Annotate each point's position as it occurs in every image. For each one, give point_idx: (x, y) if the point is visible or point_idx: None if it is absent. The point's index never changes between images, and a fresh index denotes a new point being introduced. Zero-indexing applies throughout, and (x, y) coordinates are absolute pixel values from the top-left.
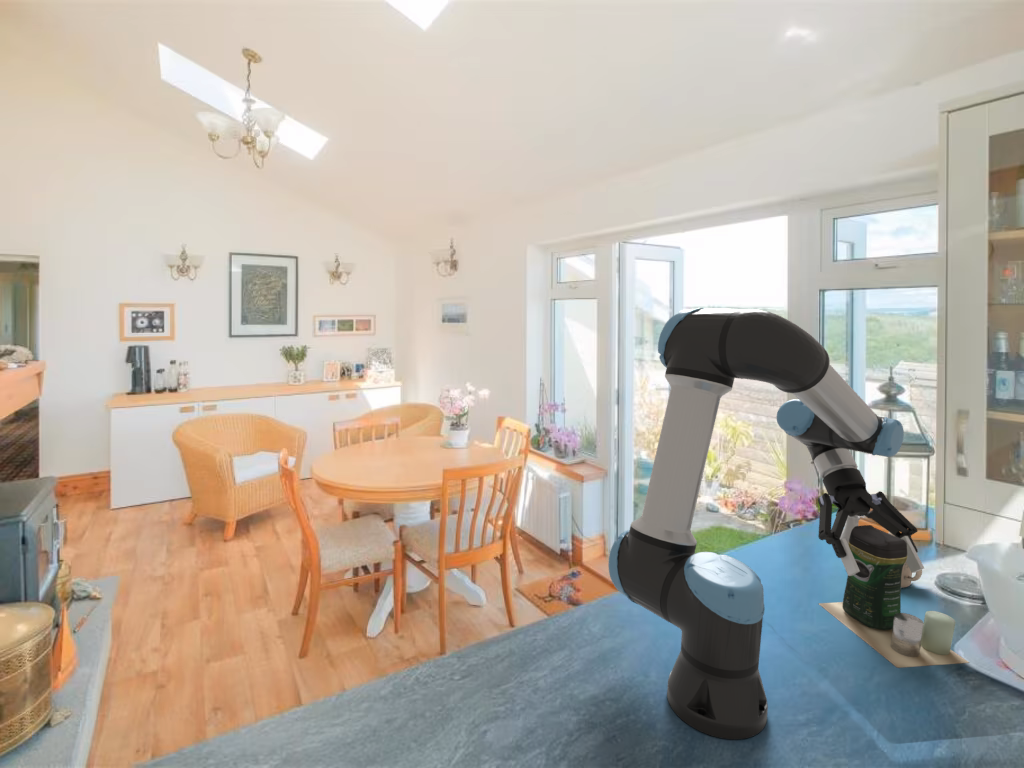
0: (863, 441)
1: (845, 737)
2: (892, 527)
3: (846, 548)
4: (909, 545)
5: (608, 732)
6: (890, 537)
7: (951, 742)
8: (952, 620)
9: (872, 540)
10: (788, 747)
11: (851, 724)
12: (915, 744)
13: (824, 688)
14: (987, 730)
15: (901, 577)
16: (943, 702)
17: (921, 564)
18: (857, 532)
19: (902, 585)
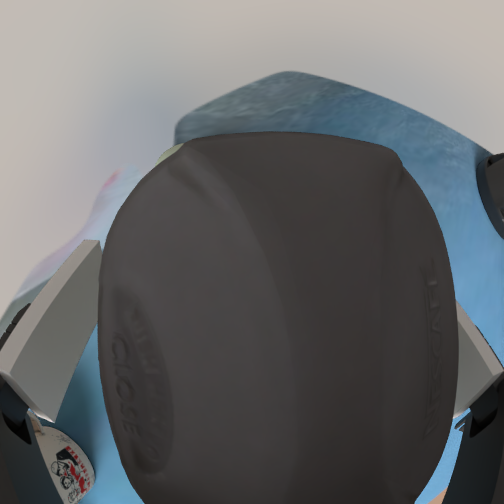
0: None
1: (428, 131)
2: (25, 473)
3: (476, 329)
4: (38, 320)
5: None
6: (327, 192)
7: (335, 93)
8: (165, 157)
9: (443, 268)
10: (465, 144)
11: (418, 139)
12: (373, 103)
13: (426, 187)
14: (279, 90)
15: (48, 437)
16: (292, 127)
17: (81, 247)
18: (442, 436)
19: (54, 430)
